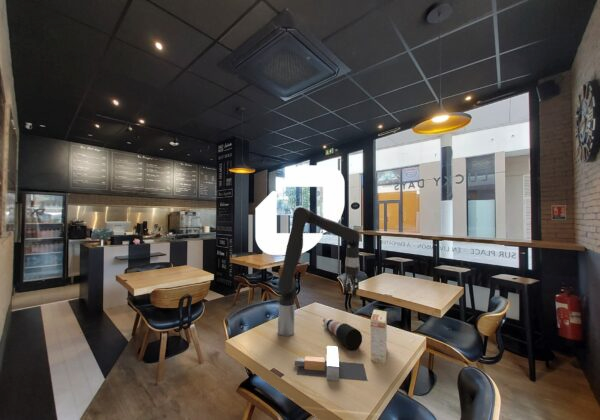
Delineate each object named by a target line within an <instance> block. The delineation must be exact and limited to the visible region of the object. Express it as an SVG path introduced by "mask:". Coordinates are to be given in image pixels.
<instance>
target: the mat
mask: <svg viewBox="0 0 600 420" xmlns="http://www.w3.org/2000/svg"><path fill="white" fill-rule="evenodd" d="M304 367H305V366H298V365H297V370H296V371H297V372H296V375H297V376H306V377H307V376H308V377H316V378H317V377H321V378H327V360H325V371H322V370H310V369H304ZM340 379H343V380H351V381H354V380H355V381H362V382H368V376H367V372H366V368H365V364H364V363H357V362H348V361H347V362H345V361H339V380H340Z"/></svg>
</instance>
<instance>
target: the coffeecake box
mask: <svg viewBox="0 0 600 420" xmlns="http://www.w3.org/2000/svg"><path fill="white" fill-rule="evenodd" d="M387 315H388V311H384V310H379V309H373V311H372V315H371V317H370V361H373V362H375V363H380V364H384V365H385V364H386V361H387V352H388V351H387V349H388V347H387V346H388V345H387V340H388V339H387V338H388V334H387V332H388V330H387V328H388V327H387V325H388V322H387V321H388V320H387V319H388V318H387V317H388V316H387Z"/></svg>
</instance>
